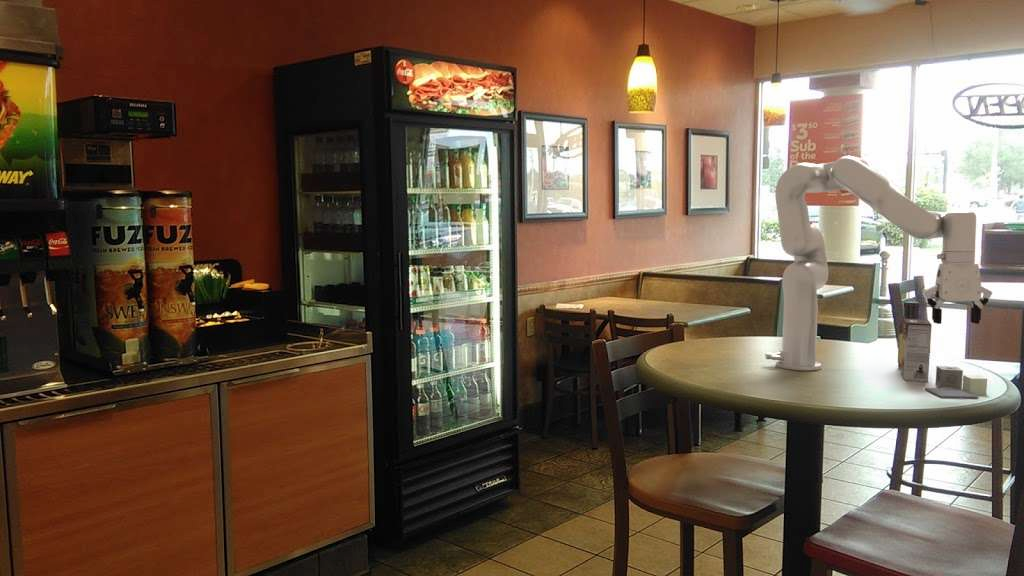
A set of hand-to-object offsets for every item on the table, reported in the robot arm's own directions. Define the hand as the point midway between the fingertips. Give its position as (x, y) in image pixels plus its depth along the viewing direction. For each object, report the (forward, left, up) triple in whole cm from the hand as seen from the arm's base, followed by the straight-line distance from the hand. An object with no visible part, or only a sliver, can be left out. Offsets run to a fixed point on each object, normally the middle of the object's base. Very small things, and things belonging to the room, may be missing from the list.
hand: (956, 323), depth 211 cm
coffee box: (-5, +10, -17) cm, 21 cm away
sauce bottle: (-1, +23, -17) cm, 29 cm away
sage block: (+3, -6, -17) cm, 18 cm away
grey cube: (-1, 0, -17) cm, 17 cm away
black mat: (-5, -10, -17) cm, 20 cm away
